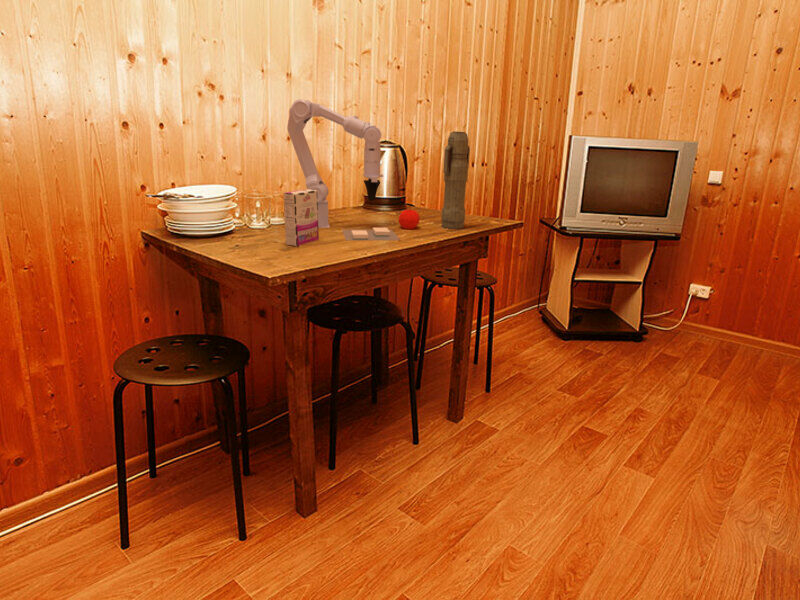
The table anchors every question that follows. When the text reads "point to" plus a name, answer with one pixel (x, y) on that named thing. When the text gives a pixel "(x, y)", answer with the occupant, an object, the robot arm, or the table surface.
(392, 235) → the slate board
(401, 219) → the apple
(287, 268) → the table surface
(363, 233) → the tile
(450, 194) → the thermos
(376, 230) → the tile
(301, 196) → the candy bar box
